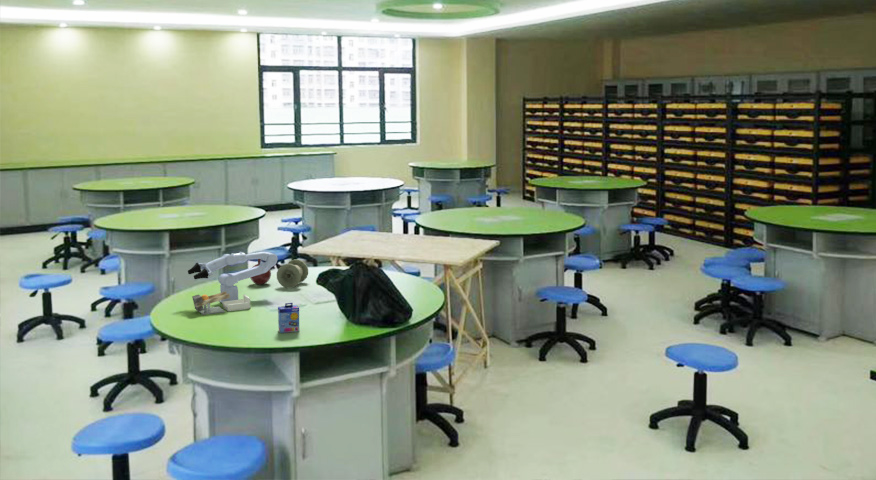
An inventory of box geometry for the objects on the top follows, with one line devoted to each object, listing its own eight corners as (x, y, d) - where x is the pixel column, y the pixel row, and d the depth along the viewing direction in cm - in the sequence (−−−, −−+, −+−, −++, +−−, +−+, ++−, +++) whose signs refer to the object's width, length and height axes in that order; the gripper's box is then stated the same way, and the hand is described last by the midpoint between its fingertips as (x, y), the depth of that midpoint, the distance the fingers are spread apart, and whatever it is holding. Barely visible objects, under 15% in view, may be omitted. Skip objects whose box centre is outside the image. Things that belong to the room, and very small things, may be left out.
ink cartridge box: (280, 333, 368) (279, 304, 365) (277, 330, 373) (277, 301, 371) (300, 331, 371) (299, 302, 369) (297, 328, 376) (297, 300, 374)
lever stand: (219, 307, 419) (218, 297, 418) (224, 312, 408) (224, 302, 408) (196, 310, 412) (196, 300, 412) (202, 315, 402) (201, 304, 401)
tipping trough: (198, 311, 404) (195, 298, 402) (192, 307, 414) (189, 294, 412) (231, 302, 412) (228, 289, 410) (225, 297, 422) (222, 285, 420)
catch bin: (245, 305, 425) (244, 294, 424) (250, 308, 417) (249, 297, 416) (223, 307, 419) (222, 297, 418) (227, 311, 410) (227, 300, 409)
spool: (285, 282, 487) (285, 259, 484) (308, 282, 485) (307, 259, 482) (277, 287, 470) (276, 263, 468) (300, 288, 468) (299, 264, 466)
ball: (208, 299, 411) (206, 292, 410) (210, 301, 408) (208, 294, 406) (201, 302, 409) (199, 295, 408) (203, 303, 406) (200, 296, 405)
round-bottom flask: (268, 286, 472) (267, 255, 469) (247, 286, 473) (246, 255, 470) (273, 282, 485) (272, 251, 482) (253, 282, 486) (251, 251, 483)
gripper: (206, 255, 428) (184, 264, 421) (218, 264, 418) (195, 273, 411) (209, 265, 432) (186, 275, 424) (220, 274, 422) (198, 284, 414)
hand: (191, 275), depth 418 cm, fingers open, 7 cm apart
